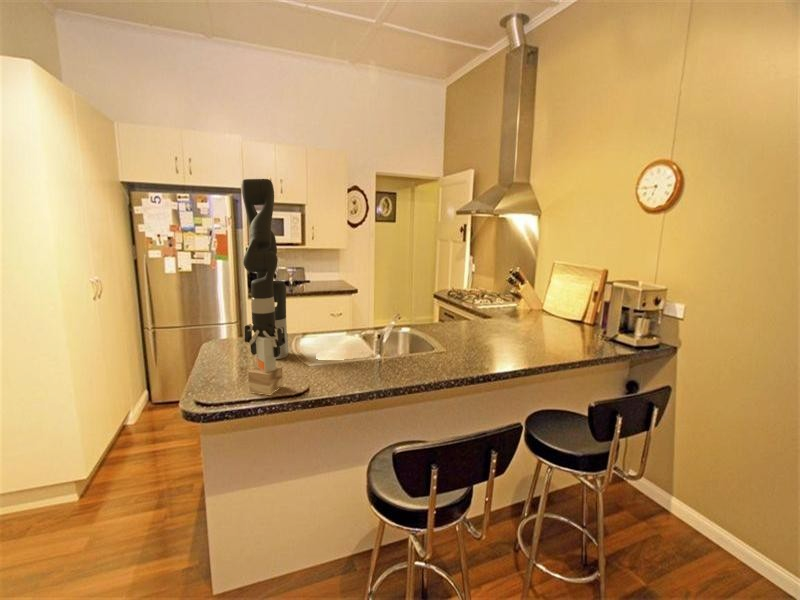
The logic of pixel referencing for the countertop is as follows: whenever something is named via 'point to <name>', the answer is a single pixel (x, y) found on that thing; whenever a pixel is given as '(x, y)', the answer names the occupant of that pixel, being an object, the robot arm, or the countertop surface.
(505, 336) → the countertop surface
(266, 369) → the skincare box
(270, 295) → the robot arm
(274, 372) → the tan square block
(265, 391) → the block lower
